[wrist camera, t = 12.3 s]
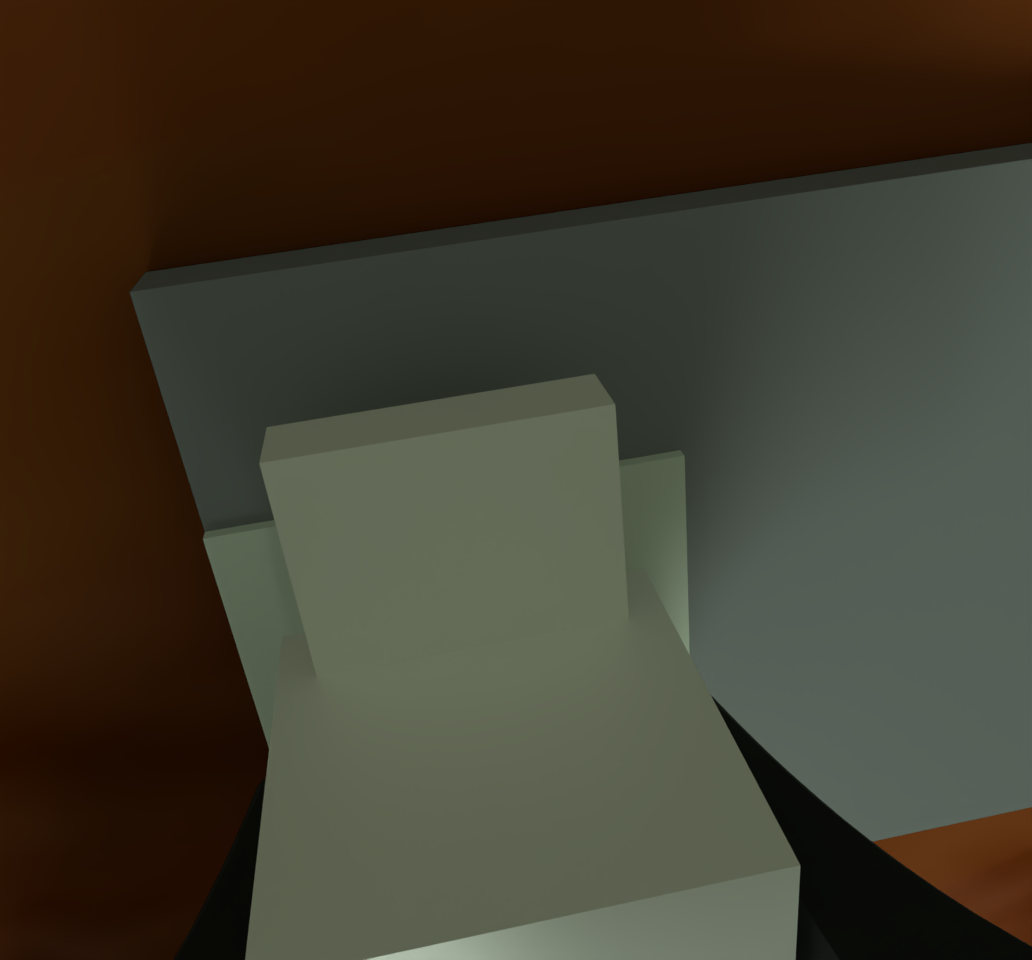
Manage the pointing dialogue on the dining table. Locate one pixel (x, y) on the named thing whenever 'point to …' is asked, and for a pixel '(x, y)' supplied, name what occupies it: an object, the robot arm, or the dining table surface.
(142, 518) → the dining table surface
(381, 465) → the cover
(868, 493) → the housing plate
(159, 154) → the dining table surface
